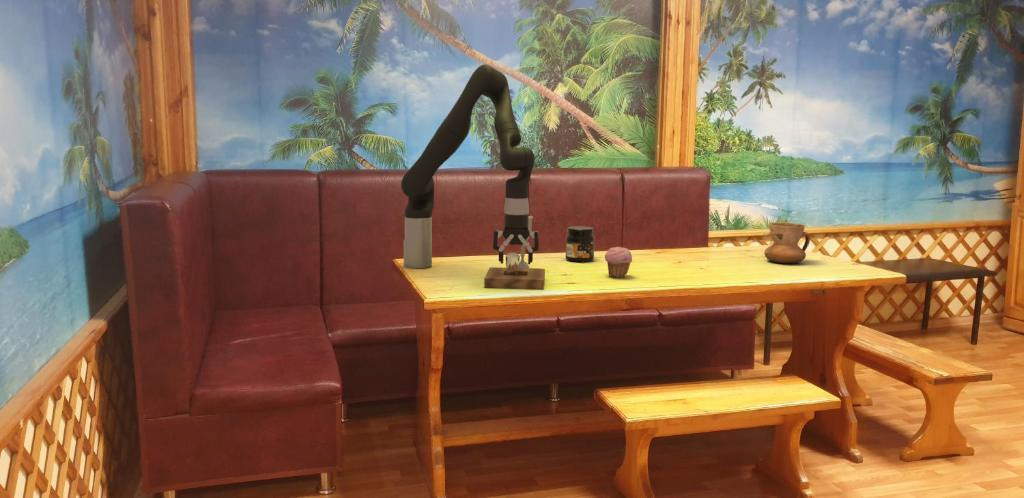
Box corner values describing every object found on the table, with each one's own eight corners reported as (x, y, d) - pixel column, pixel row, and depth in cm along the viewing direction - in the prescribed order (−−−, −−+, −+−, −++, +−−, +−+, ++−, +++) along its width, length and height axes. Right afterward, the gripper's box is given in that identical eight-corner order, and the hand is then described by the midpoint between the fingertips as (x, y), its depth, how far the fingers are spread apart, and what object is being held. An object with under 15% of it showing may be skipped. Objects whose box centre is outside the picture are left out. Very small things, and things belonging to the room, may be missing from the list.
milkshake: (501, 279, 253) (502, 248, 251) (518, 280, 254) (519, 249, 252) (502, 282, 249) (503, 251, 247) (520, 283, 249) (521, 251, 248)
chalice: (530, 271, 270) (531, 218, 267) (510, 270, 271) (511, 217, 268) (534, 267, 277) (534, 216, 274) (514, 266, 278) (515, 215, 275)
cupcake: (599, 275, 265) (600, 245, 263) (620, 273, 269) (621, 244, 267) (615, 280, 257) (616, 249, 255) (636, 278, 261) (638, 247, 260)
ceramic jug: (771, 266, 286) (774, 226, 284) (754, 258, 300) (756, 221, 298) (818, 265, 289) (821, 226, 286) (799, 258, 303) (802, 221, 300)
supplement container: (564, 262, 288) (565, 229, 286) (566, 257, 298) (566, 225, 296) (593, 263, 286) (594, 230, 284) (594, 258, 297) (595, 226, 295)
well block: (484, 287, 243) (484, 278, 242) (489, 276, 261) (489, 267, 260) (543, 289, 242) (543, 279, 241) (544, 277, 259) (544, 268, 259)
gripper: (492, 213, 244) (492, 265, 247) (539, 214, 243) (538, 266, 246) (494, 210, 252) (494, 260, 254) (539, 211, 251) (538, 262, 253)
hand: (515, 263), depth 250 cm, fingers open, 8 cm apart
